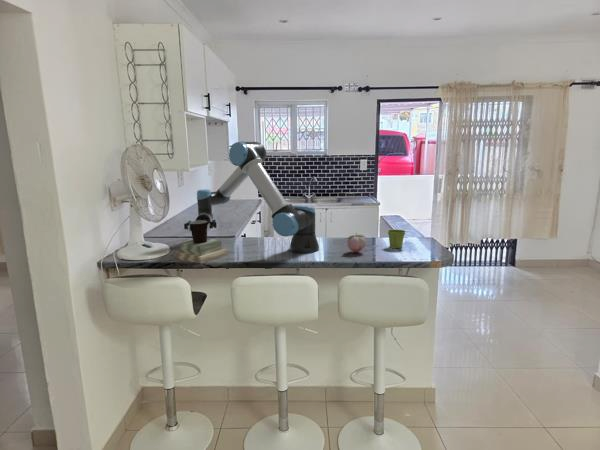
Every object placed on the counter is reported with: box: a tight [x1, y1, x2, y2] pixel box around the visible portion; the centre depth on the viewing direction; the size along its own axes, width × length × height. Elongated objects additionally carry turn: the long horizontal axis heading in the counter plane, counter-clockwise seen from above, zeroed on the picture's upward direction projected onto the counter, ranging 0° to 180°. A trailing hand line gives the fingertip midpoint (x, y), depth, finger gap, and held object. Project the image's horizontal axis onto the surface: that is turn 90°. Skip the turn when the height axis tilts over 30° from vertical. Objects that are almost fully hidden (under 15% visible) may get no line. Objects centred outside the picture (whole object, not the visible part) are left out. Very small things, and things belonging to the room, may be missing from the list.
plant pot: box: [387, 228, 407, 249], centre depth 204 cm, size 9×9×9 cm
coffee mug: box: [190, 220, 208, 244], centre depth 190 cm, size 12×9×10 cm
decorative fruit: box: [346, 233, 367, 254], centre depth 195 cm, size 9×8×10 cm
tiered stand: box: [174, 238, 229, 265], centre depth 193 cm, size 18×18×8 cm
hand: (198, 228), depth 187 cm, fingers open, 8 cm apart
